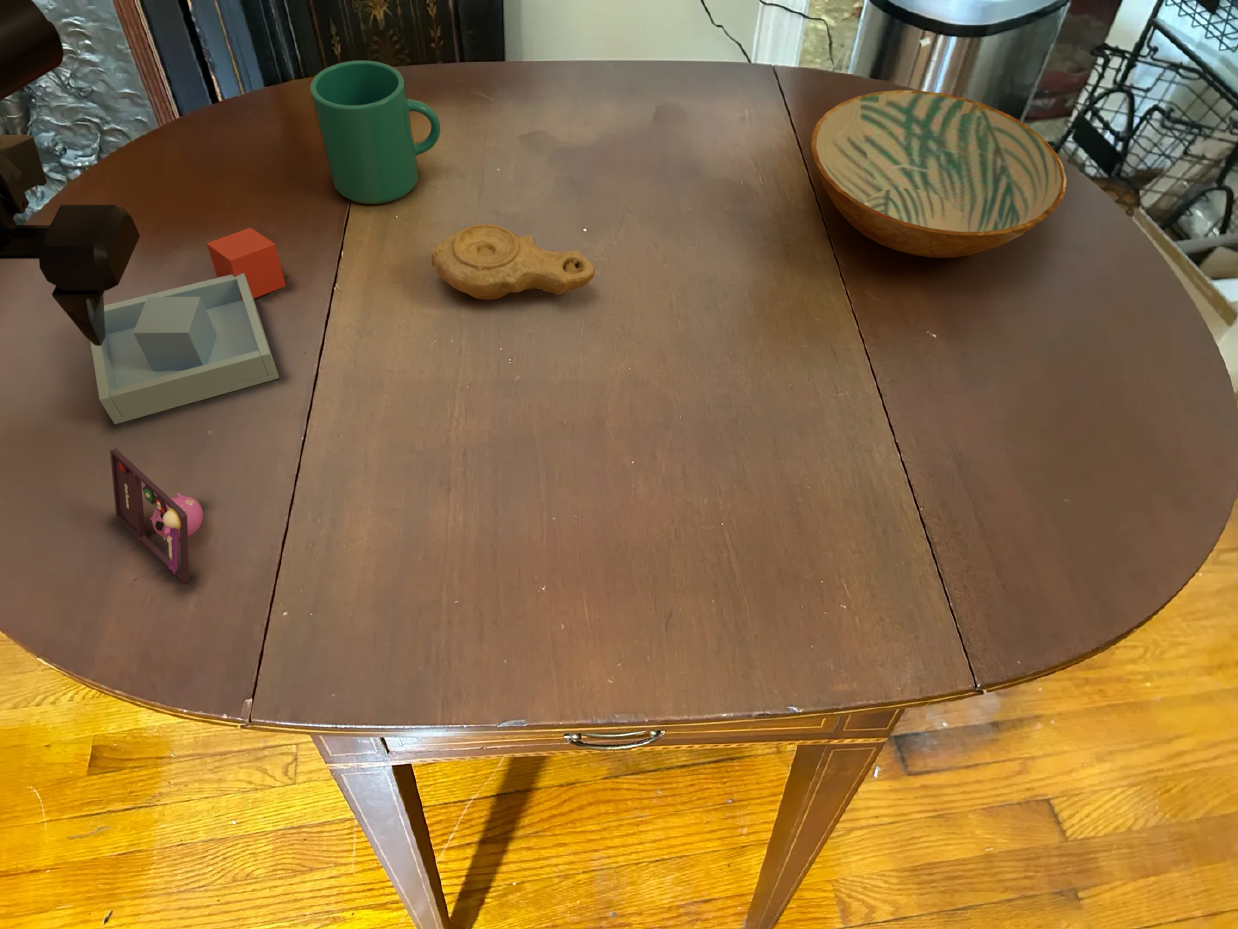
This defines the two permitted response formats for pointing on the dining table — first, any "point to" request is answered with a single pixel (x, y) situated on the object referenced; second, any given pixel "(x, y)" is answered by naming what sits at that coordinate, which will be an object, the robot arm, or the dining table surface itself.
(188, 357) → the gray block
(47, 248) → the robot arm
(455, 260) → the oil lamp
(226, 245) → the red block
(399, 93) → the cup
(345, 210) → the dining table surface
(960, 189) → the bowl
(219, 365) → the gray tray
